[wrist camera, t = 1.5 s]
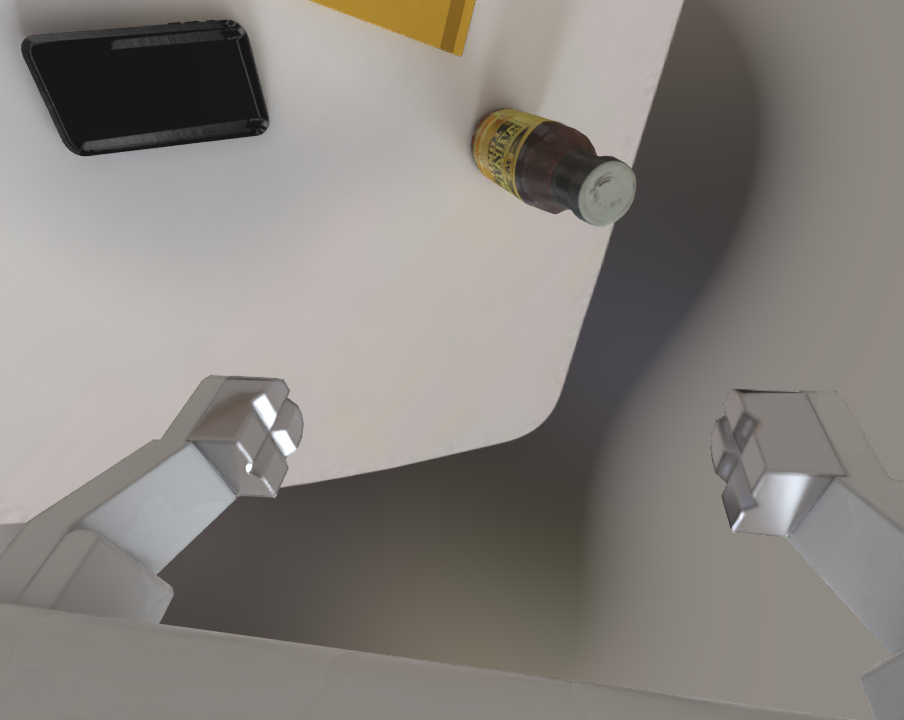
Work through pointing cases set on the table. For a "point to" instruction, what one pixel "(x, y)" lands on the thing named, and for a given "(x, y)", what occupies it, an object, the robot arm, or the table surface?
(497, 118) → the sauce bottle
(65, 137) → the phone
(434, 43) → the tray
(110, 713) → the robot arm
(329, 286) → the table surface
